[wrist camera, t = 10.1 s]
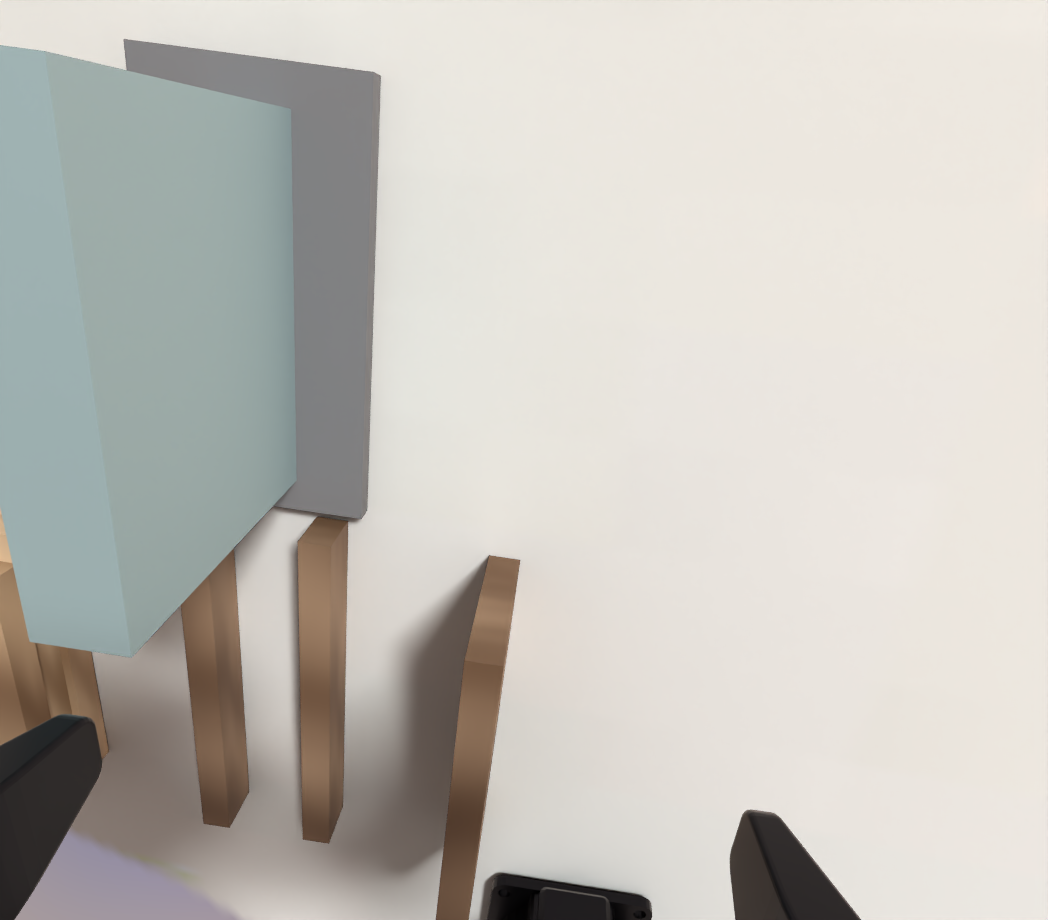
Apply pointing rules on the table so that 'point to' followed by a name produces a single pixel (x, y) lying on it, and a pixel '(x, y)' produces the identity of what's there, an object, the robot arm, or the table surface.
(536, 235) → the table surface
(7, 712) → the offcut stack
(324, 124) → the rubber mat
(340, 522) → the walnut rack
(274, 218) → the grey-green rectangular slab
